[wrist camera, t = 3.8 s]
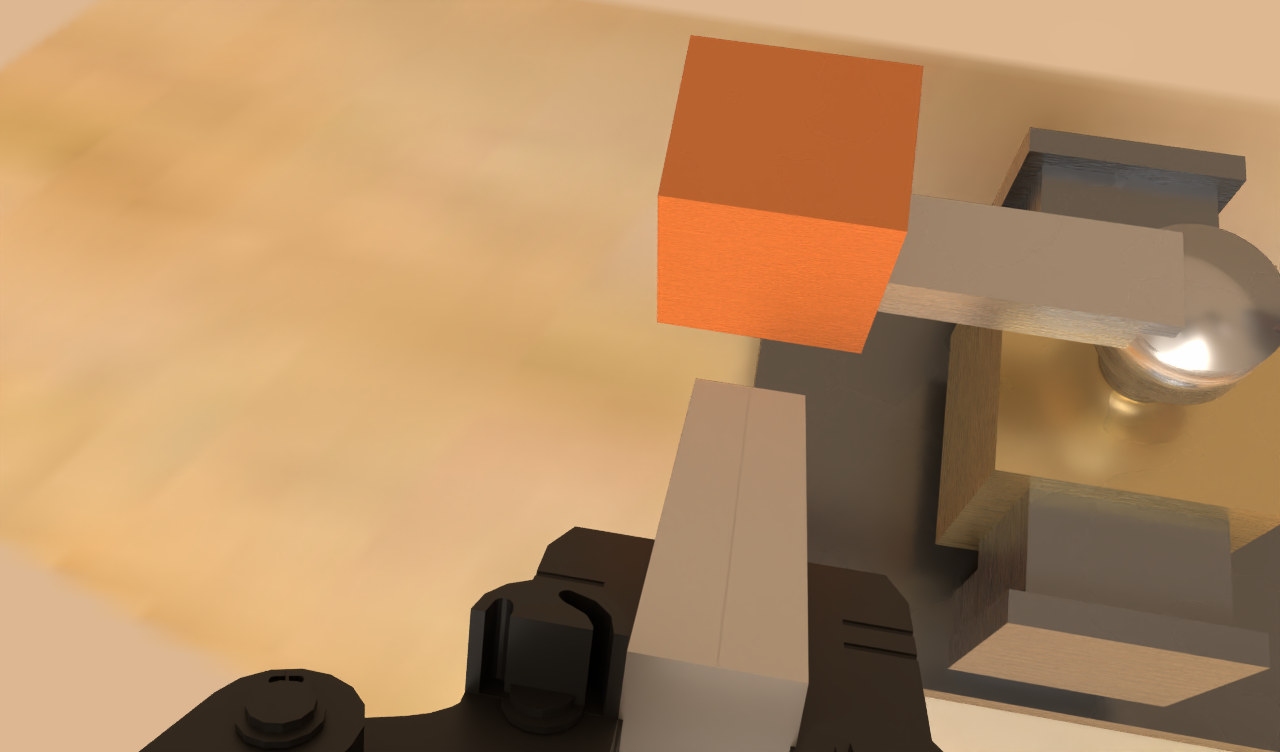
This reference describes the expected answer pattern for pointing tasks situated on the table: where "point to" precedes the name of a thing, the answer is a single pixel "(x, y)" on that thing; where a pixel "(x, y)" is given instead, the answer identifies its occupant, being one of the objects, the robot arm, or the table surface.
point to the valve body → (1060, 490)
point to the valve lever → (920, 235)
